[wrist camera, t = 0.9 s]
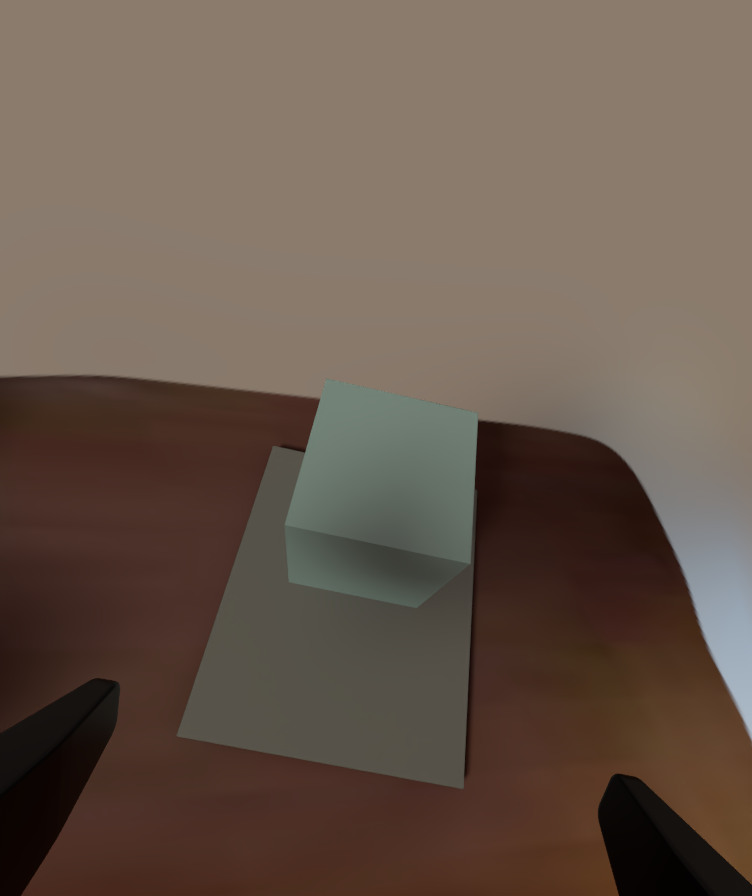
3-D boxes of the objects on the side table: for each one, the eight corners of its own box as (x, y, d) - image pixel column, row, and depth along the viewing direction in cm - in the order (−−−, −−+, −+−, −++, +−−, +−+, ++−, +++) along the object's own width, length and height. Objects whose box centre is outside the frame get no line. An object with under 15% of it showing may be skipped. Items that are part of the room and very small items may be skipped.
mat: (459, 786, 19) (484, 799, 16) (179, 735, 18) (160, 740, 16) (473, 494, 26) (492, 471, 24) (273, 450, 26) (271, 422, 23)
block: (416, 608, 22) (470, 563, 15) (288, 582, 22) (284, 524, 15) (429, 492, 25) (478, 412, 18) (318, 468, 25) (326, 378, 18)
